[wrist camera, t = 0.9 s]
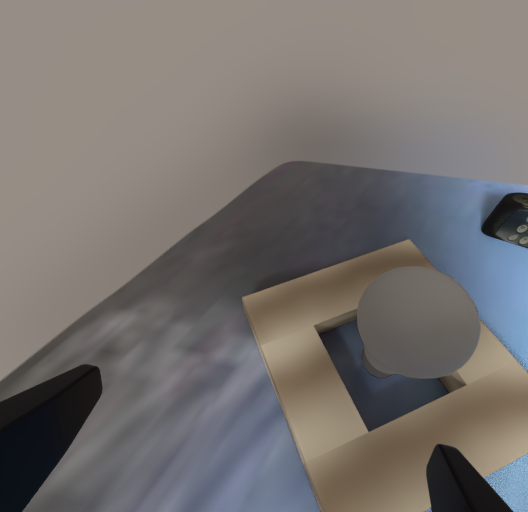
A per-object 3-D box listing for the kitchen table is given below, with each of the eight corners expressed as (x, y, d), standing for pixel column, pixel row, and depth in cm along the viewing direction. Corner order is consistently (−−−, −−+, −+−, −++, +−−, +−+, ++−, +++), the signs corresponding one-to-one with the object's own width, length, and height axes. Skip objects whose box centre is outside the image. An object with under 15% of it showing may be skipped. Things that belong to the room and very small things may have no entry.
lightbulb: (349, 315, 26) (387, 229, 17) (424, 346, 24) (510, 268, 15) (324, 382, 23) (356, 320, 14) (408, 424, 21) (506, 383, 12)
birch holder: (545, 431, 20) (575, 426, 18) (334, 548, 17) (342, 557, 15) (400, 255, 29) (409, 239, 27) (244, 311, 26) (242, 297, 24)
